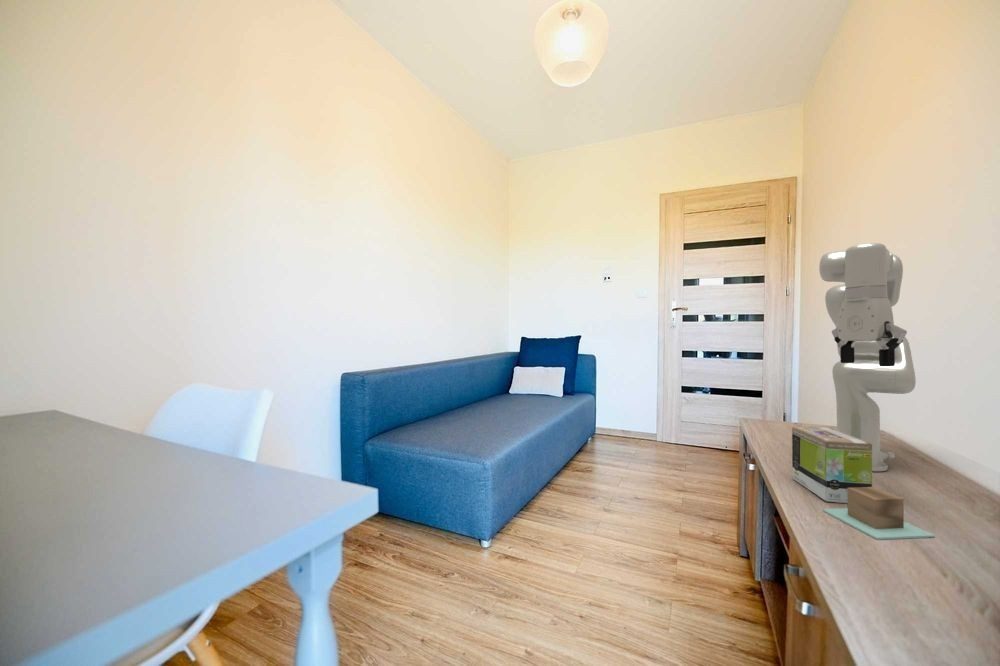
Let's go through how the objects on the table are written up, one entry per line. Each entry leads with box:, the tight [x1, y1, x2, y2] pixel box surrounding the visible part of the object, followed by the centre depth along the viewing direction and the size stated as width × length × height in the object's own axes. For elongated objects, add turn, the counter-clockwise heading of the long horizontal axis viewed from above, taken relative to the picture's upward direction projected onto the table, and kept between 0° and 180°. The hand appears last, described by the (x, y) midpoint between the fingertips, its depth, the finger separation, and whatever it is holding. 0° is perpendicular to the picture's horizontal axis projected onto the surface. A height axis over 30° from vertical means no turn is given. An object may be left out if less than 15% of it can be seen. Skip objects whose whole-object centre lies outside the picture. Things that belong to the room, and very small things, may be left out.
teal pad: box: [821, 507, 936, 541], centre depth 81 cm, size 12×12×1 cm
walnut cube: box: [847, 486, 905, 529], centre depth 81 cm, size 6×6×6 cm
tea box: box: [791, 426, 873, 504], centre depth 97 cm, size 15×10×15 cm, turn 168°
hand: (866, 364), depth 94 cm, fingers open, 9 cm apart
